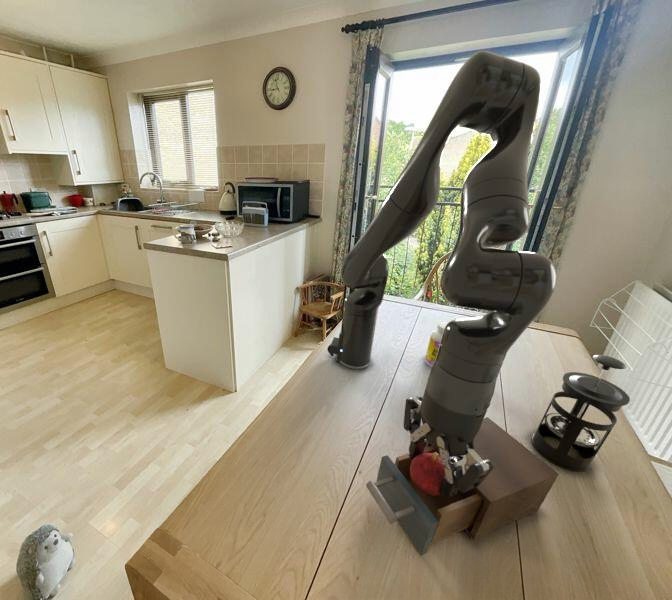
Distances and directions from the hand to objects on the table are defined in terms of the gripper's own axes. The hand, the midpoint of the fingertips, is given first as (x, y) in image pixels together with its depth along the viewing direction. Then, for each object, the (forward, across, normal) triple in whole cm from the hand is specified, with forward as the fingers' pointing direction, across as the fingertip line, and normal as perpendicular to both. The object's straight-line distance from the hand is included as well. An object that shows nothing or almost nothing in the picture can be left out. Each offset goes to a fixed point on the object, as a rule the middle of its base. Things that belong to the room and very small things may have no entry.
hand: (429, 474), depth 49 cm
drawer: (+9, 0, 0) cm, 9 cm away
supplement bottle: (+10, -33, +36) cm, 49 cm away
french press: (+10, -1, +37) cm, 38 cm away
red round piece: (+4, 0, 0) cm, 4 cm away
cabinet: (+9, 0, +12) cm, 16 cm away
